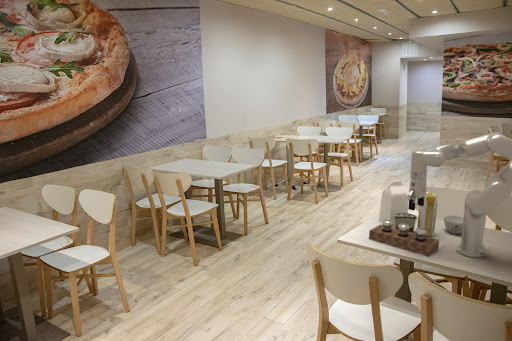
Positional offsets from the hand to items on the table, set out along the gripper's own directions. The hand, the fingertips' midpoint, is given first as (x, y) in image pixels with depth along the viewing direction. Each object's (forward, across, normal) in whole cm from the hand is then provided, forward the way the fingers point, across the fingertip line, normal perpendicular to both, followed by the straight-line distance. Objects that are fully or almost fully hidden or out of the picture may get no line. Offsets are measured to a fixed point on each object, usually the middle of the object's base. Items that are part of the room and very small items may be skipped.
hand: (416, 207), depth 205 cm
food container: (+20, +15, +13) cm, 29 cm away
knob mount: (+20, -3, +5) cm, 21 cm away
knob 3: (+17, -2, -4) cm, 17 cm away
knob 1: (+16, -3, +14) cm, 21 cm away
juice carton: (+20, +19, +2) cm, 28 cm away
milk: (+20, +22, +24) cm, 38 cm away
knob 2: (+16, -3, +5) cm, 17 cm away
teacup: (+21, +34, -9) cm, 41 cm away
